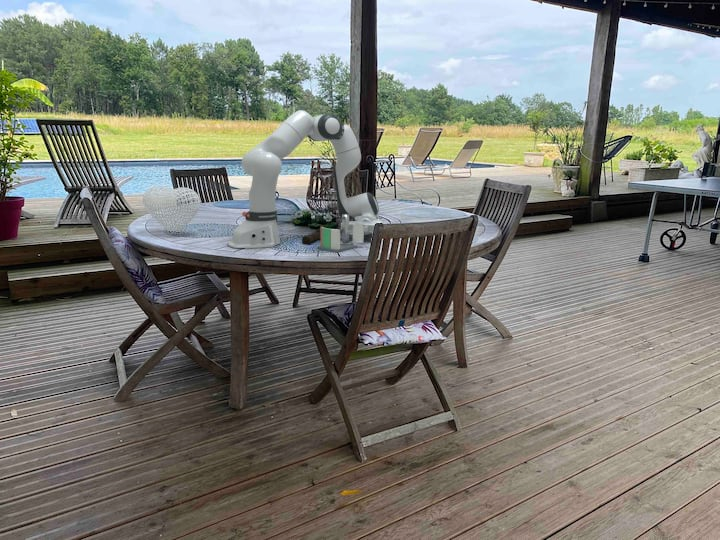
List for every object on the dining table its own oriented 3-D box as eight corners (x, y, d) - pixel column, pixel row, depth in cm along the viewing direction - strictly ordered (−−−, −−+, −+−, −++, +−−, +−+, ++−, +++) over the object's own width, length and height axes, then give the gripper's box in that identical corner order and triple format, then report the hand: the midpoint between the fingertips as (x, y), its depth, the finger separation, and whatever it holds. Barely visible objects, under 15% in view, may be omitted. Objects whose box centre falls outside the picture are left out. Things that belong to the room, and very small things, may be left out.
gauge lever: (342, 240, 217) (342, 214, 214) (363, 241, 215) (364, 215, 212) (334, 248, 203) (334, 219, 200) (356, 249, 201) (357, 220, 198)
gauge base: (340, 243, 222) (340, 222, 219) (360, 246, 215) (360, 225, 213) (317, 248, 210) (316, 227, 208) (336, 252, 204) (336, 230, 201)
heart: (209, 234, 238) (206, 186, 232) (185, 240, 224) (181, 189, 218) (164, 229, 249) (160, 183, 243) (139, 234, 235) (134, 186, 229)
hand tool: (309, 245, 218) (309, 235, 216) (301, 244, 219) (301, 234, 218) (328, 238, 235) (328, 228, 233) (321, 237, 236) (321, 227, 235)
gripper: (344, 216, 232) (336, 221, 219) (388, 218, 228) (383, 223, 215) (344, 230, 234) (336, 235, 221) (387, 232, 230) (383, 238, 217)
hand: (360, 230), depth 218 cm, fingers closed
